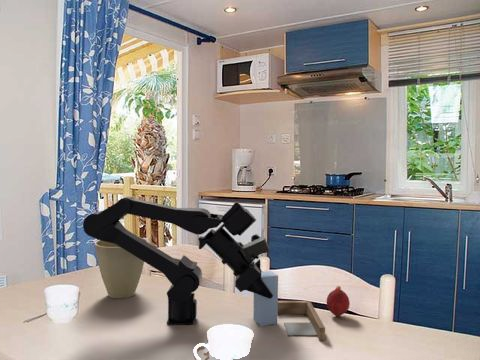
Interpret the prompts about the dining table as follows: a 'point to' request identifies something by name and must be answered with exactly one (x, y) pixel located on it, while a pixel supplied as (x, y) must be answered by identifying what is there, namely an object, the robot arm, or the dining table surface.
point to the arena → (302, 328)
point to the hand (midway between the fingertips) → (271, 293)
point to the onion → (338, 302)
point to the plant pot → (118, 269)
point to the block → (267, 301)
